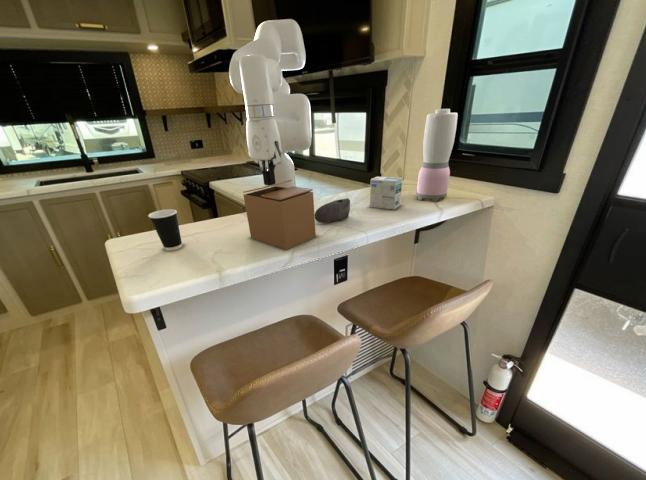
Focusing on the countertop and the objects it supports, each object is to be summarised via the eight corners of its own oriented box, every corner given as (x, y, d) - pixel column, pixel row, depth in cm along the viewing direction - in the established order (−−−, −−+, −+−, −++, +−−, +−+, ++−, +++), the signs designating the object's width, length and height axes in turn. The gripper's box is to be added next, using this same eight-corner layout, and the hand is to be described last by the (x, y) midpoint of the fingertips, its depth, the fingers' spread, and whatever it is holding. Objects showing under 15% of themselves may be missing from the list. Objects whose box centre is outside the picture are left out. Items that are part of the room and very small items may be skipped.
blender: (441, 202, 124) (456, 109, 107) (411, 199, 130) (421, 110, 113) (450, 193, 135) (465, 107, 118) (423, 191, 141) (433, 109, 124)
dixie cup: (156, 248, 98) (144, 213, 92) (181, 240, 102) (170, 207, 97) (165, 254, 93) (153, 218, 87) (191, 246, 97) (180, 212, 92)
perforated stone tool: (318, 226, 107) (317, 206, 103) (311, 222, 111) (310, 203, 107) (355, 218, 112) (355, 199, 109) (347, 215, 116) (347, 196, 113)
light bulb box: (400, 205, 123) (403, 177, 118) (394, 210, 119) (396, 180, 113) (375, 203, 128) (377, 175, 123) (369, 207, 124) (370, 179, 118)
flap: (243, 192, 93) (242, 191, 93) (275, 184, 101) (275, 183, 101) (259, 189, 88) (258, 188, 88) (291, 181, 96) (291, 179, 95)
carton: (251, 238, 101) (242, 191, 93) (280, 227, 109) (275, 183, 101) (286, 249, 91) (280, 198, 83) (315, 236, 99) (312, 189, 91)
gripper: (233, 115, 86) (245, 184, 95) (267, 113, 77) (277, 189, 86) (254, 113, 90) (264, 180, 100) (289, 111, 81) (296, 184, 91)
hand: (270, 184), depth 93 cm, fingers closed
